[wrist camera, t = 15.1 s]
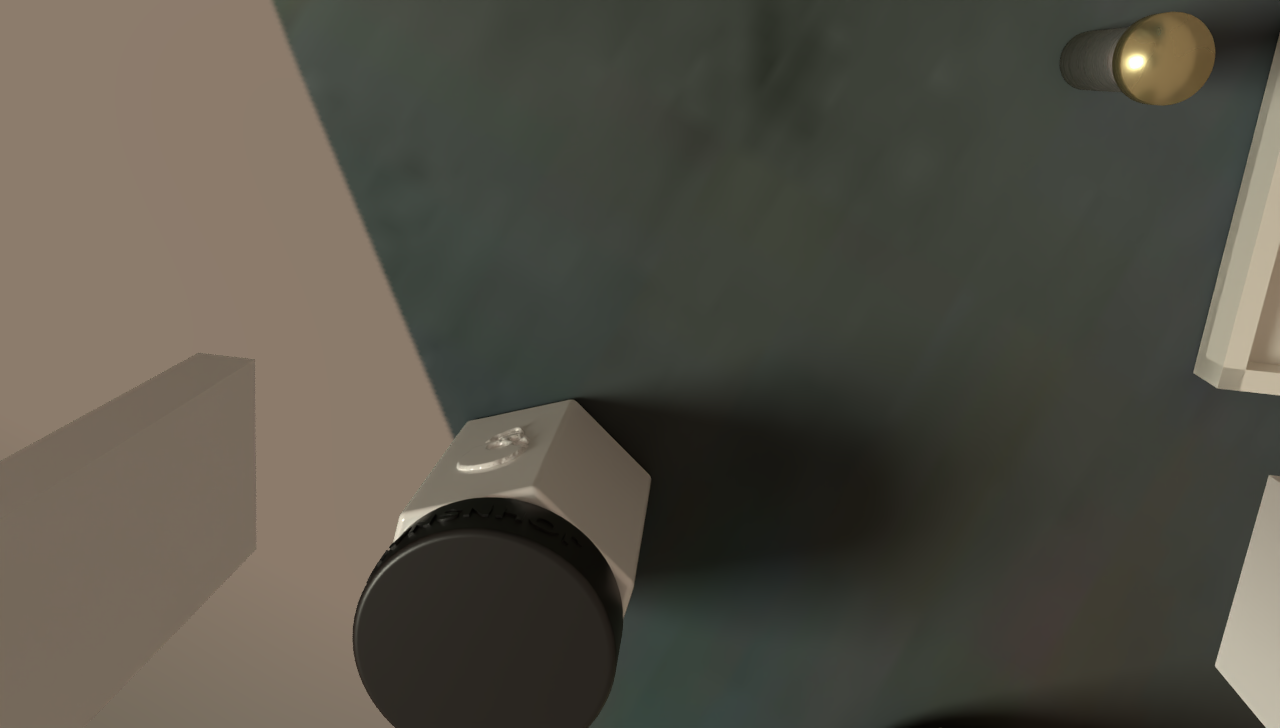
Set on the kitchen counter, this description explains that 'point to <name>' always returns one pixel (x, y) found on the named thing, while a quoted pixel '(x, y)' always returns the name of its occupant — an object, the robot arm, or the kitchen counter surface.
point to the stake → (1143, 59)
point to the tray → (1250, 269)
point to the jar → (507, 578)
